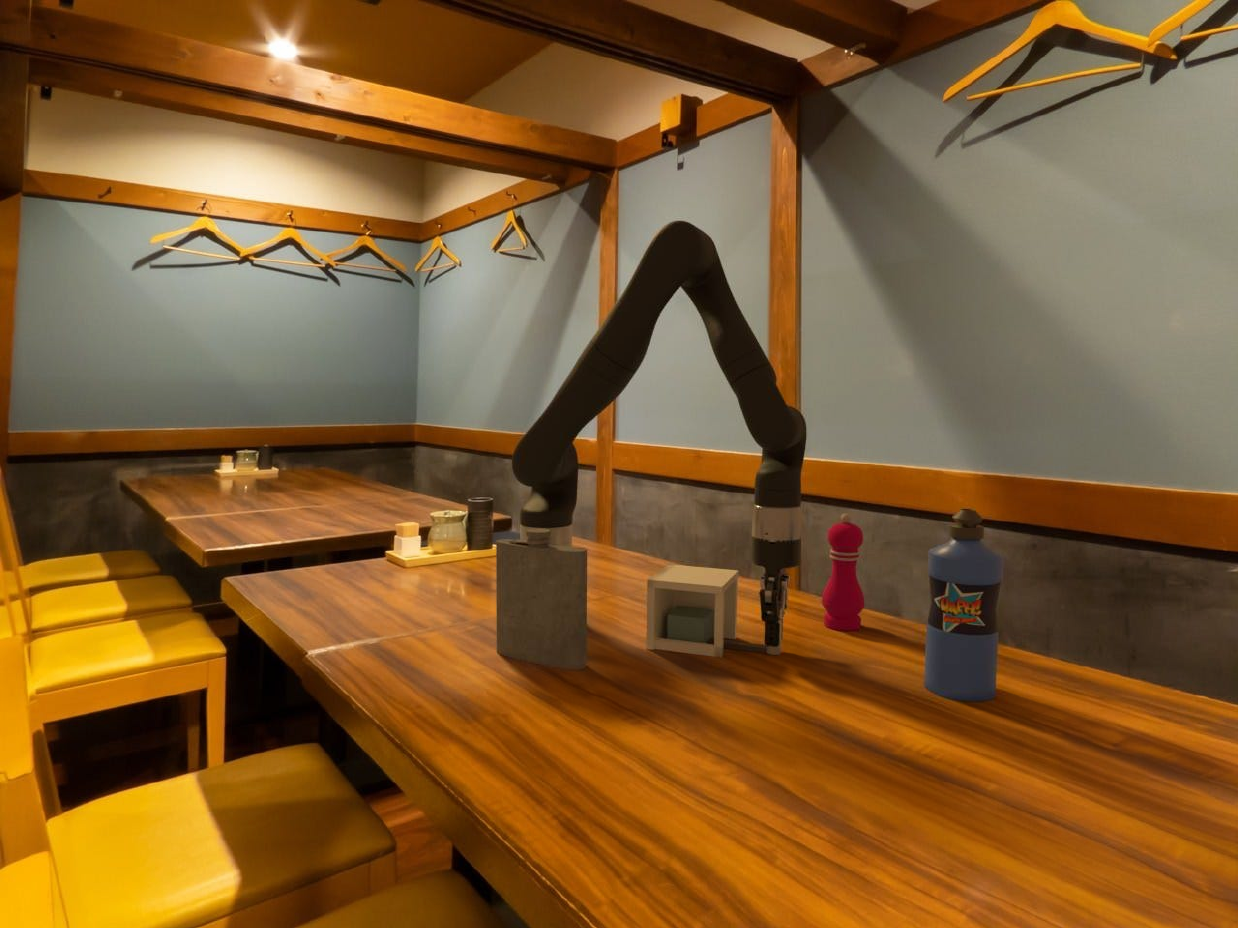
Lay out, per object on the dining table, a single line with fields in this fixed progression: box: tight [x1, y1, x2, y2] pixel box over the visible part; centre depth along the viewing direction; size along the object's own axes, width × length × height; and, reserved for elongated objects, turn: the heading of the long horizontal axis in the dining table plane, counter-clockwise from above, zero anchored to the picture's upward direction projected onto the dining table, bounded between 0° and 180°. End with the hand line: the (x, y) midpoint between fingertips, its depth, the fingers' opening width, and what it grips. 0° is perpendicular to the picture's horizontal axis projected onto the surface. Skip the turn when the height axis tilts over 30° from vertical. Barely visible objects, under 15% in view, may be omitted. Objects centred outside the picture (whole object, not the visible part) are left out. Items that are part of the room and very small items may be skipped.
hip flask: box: [495, 528, 588, 671], centre depth 115 cm, size 16×4×20 cm, turn 61°
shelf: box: [645, 564, 739, 658], centre depth 125 cm, size 12×12×11 cm
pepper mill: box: [821, 513, 865, 632], centre depth 134 cm, size 7×7×20 cm
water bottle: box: [923, 508, 1005, 703], centre depth 105 cm, size 9×9×25 cm
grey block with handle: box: [666, 601, 783, 656], centre depth 123 cm, size 18×6×8 cm, turn 70°
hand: (773, 642), depth 120 cm, fingers closed on grey block with handle, 2 cm apart
